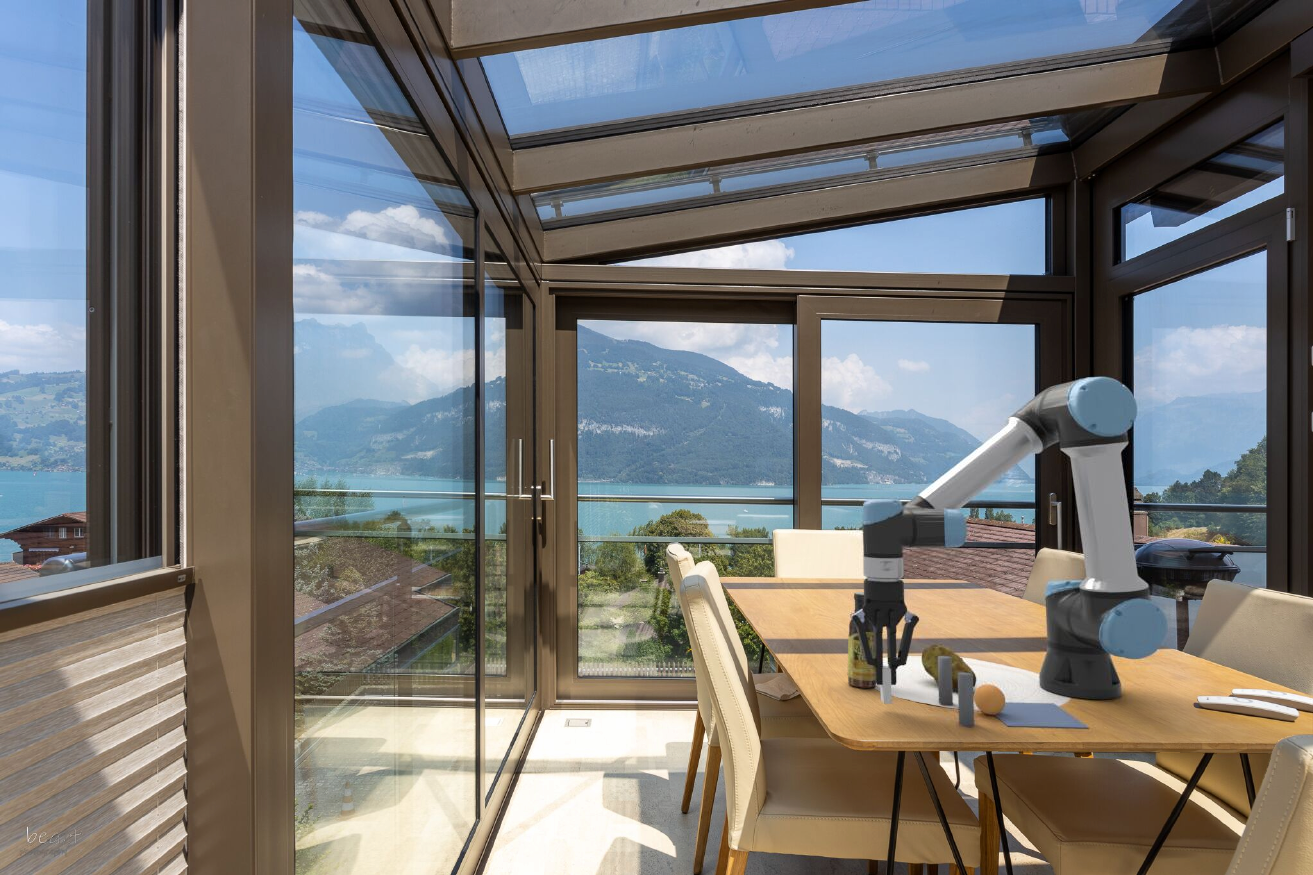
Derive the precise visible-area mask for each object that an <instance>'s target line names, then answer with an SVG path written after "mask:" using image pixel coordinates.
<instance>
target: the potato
mask: <svg viewBox="0 0 1313 875" xmlns="http://www.w3.org/2000/svg"><path fill="white" fill-rule="evenodd" d="M938 656H948V657H951V658H952V691H958V673H960V672H965V673H971V674H973V688H975V686H976V684H977V676H976V674H975V672H974V670H973V669H972V668H971V667H970V666H969V664H967V663H966V662H965V661H964V659H963V658H962V657H961V656H960V655H958V654H956V653H955V652H954V651H953V649H950V648H949V647H948V646H945V645H942V644H932V645H931V646H928V647H926V648H925V649H924V650H923V651H922V654H921V663H922V666H923V668H924V670H925V672H926V673H927V674H928V675H929V676H930V677H932V678H933V680H934V682H935V683H936V684H937V685H938Z"/></svg>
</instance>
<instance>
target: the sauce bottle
mask: <svg viewBox="0 0 1313 875" xmlns="http://www.w3.org/2000/svg"><path fill="white" fill-rule="evenodd" d="M853 599H854V612H853V613H856V612H858V611H859V610H861V607H862V604H863V602H864V591H856V592H854V593H853ZM848 625H849V626H848V640H847V641H848V645H847V680H848V684H849V685H850V686H852V687H856V688H860V689H861V688H863V689H868V688H870V689H871V688H874V687H876V685H877V683H876V681H875V667H874V666H872V665H869V664H868V663H867V662H866V661H865V658H864V655H863V651H862V647H861V643H860V639H859V636H858V632H857V628H856V625H855V623H854V622H853V620H852V619H851V618H850V620H849V624H848ZM863 625H864V628H865V631H866V635H867V639H868V643H869V647H870V650H871V654H872V658H874V631H873V624H872V623H871V622H870V621H869V619H868V618H867V617H866V615H864V622H863Z"/></svg>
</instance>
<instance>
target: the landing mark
mask: <svg viewBox="0 0 1313 875" xmlns="http://www.w3.org/2000/svg"><path fill="white" fill-rule="evenodd" d="M994 716H995V717H996V718H997V719H998V720H1000V721H1001V722H1002V723H1004V725H1006V726H1007V727H1013V728H1015V727H1016V728H1017V727H1020V728H1050V729H1051V728H1053V729H1054V728H1057V729H1058V728H1059V729H1060V728H1061V729H1089V726H1088V725H1086V724H1085V723H1083V722H1082V721H1080V720H1078V718H1076V717H1074V716H1073V715H1071V714H1070V713H1069V712H1067V711H1065V709H1063V708H1061V707H1060V706H1058V705H1057V704H1056V703H1052V702H1051V703H1050V702H1045V703H1044V702H1014V701H1013V702H1006V701H1005V707H1004V709H1003V710H1002V711H1001V712H1000V713H998V714H995V715H994Z"/></svg>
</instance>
